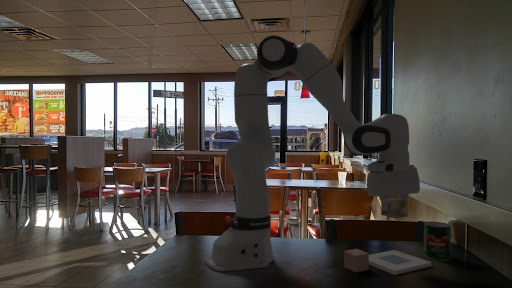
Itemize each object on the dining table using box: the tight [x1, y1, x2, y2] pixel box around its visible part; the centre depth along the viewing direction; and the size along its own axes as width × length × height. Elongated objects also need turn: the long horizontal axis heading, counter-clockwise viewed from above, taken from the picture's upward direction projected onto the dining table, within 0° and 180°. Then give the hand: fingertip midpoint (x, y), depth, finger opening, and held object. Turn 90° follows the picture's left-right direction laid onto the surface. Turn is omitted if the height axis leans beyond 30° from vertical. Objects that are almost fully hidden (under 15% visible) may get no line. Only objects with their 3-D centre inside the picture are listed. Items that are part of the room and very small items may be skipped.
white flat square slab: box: [369, 249, 433, 276], centre depth 107 cm, size 16×14×1 cm
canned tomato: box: [423, 220, 452, 262], centre depth 113 cm, size 8×8×11 cm
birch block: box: [380, 197, 409, 219], centre depth 107 cm, size 6×6×5 cm
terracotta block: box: [343, 248, 370, 273], centre depth 102 cm, size 5×5×5 cm
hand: (394, 209), depth 107 cm, fingers closed on birch block, 5 cm apart
